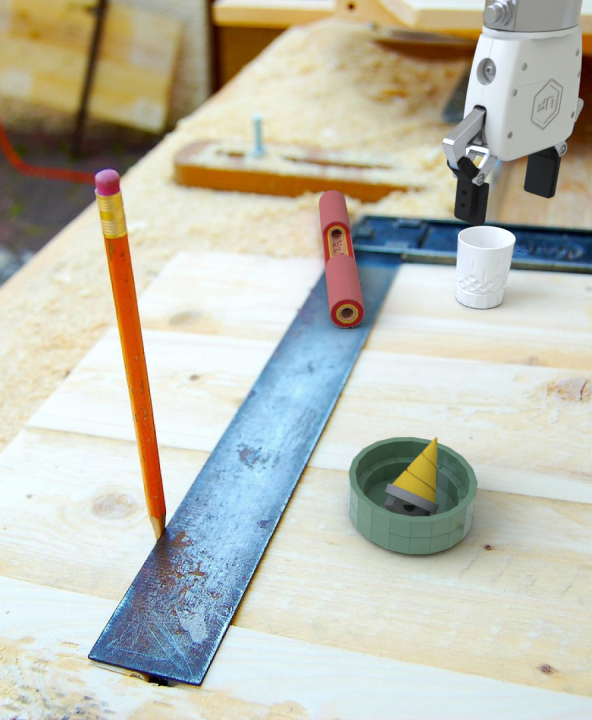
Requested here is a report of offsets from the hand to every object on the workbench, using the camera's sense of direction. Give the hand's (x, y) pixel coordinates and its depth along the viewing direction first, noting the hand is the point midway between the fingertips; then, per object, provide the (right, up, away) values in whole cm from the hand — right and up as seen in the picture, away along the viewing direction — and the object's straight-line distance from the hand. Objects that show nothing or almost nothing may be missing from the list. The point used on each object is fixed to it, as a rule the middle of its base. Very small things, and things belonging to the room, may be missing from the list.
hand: (504, 207), depth 72 cm
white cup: (+11, -5, +43) cm, 44 cm away
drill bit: (-8, -30, +6) cm, 31 cm away
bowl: (-8, -30, +6) cm, 32 cm away
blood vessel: (-8, +1, +55) cm, 56 cm away
